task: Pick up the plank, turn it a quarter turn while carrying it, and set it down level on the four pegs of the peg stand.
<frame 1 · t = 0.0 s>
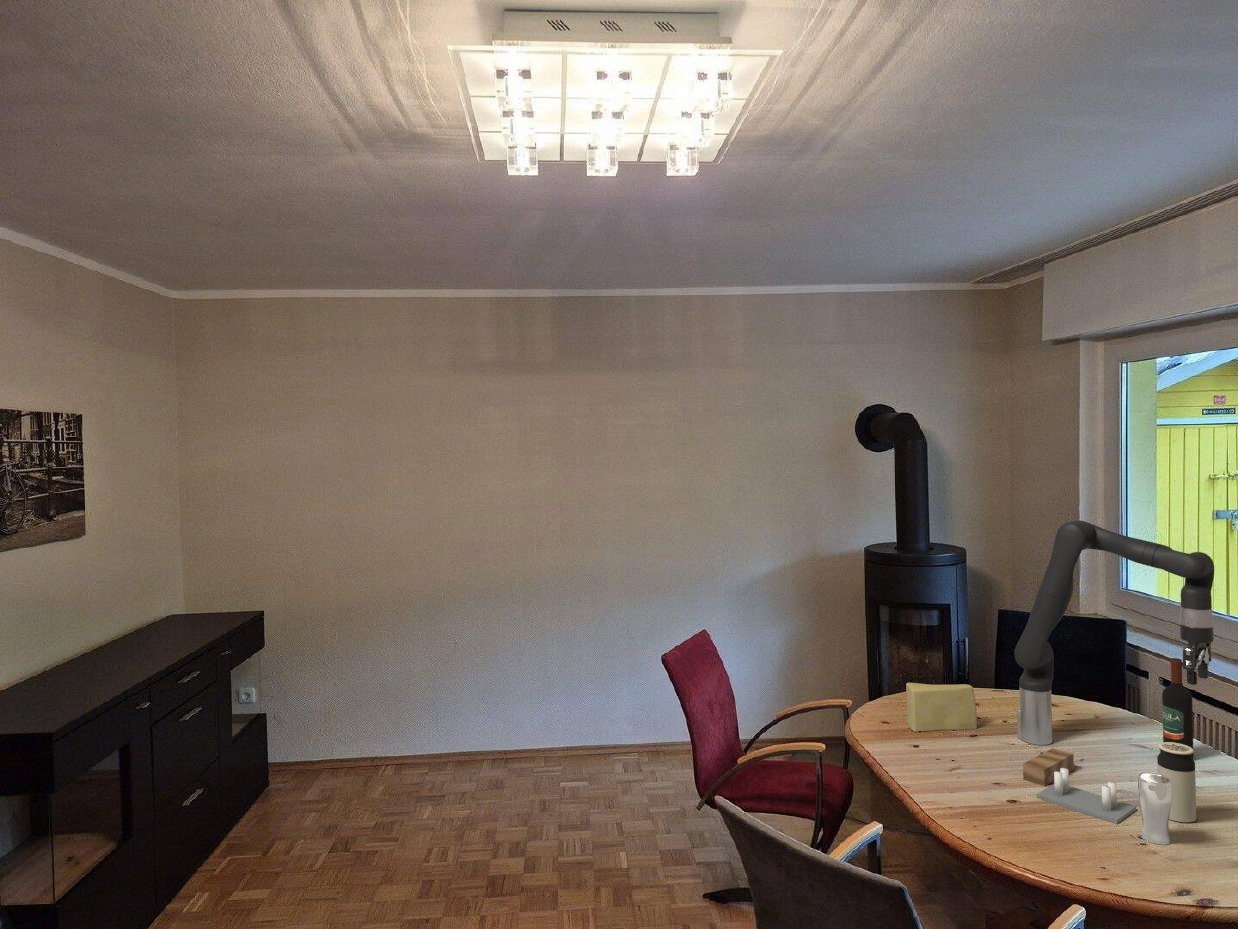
hand: (1197, 681, 220), 29 cm above the table, fingers open, 8 cm apart
wine bottle: (1178, 757, 240), on the table
beer glass: (1155, 839, 191), on the table
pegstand: (1085, 803, 211), on the table
cheese: (942, 729, 270), on the table
travel mug: (1177, 817, 202), on the table
plank: (1048, 775, 230), on the table
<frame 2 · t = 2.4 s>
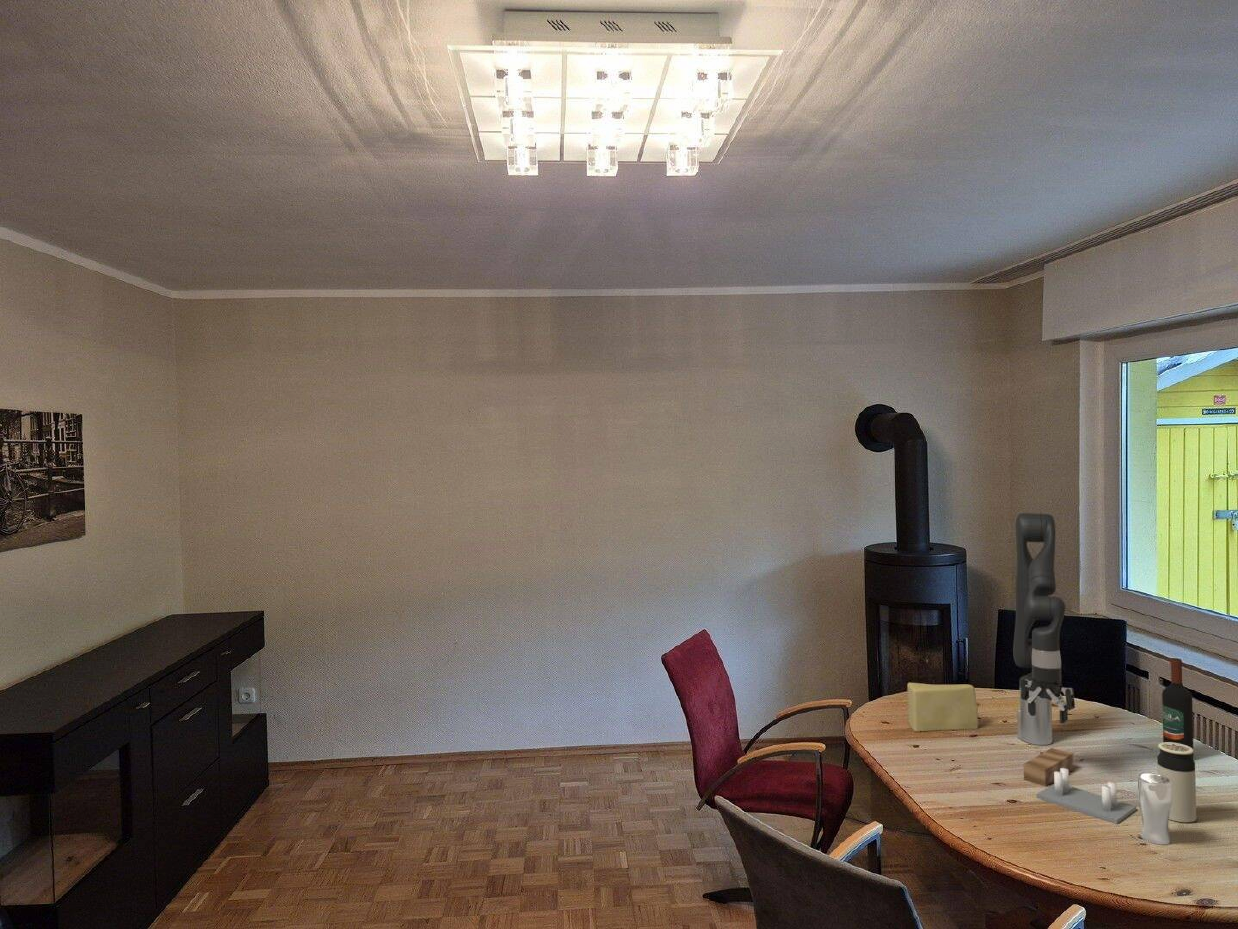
hand: (1047, 719, 230), 16 cm above the table, fingers open, 8 cm apart
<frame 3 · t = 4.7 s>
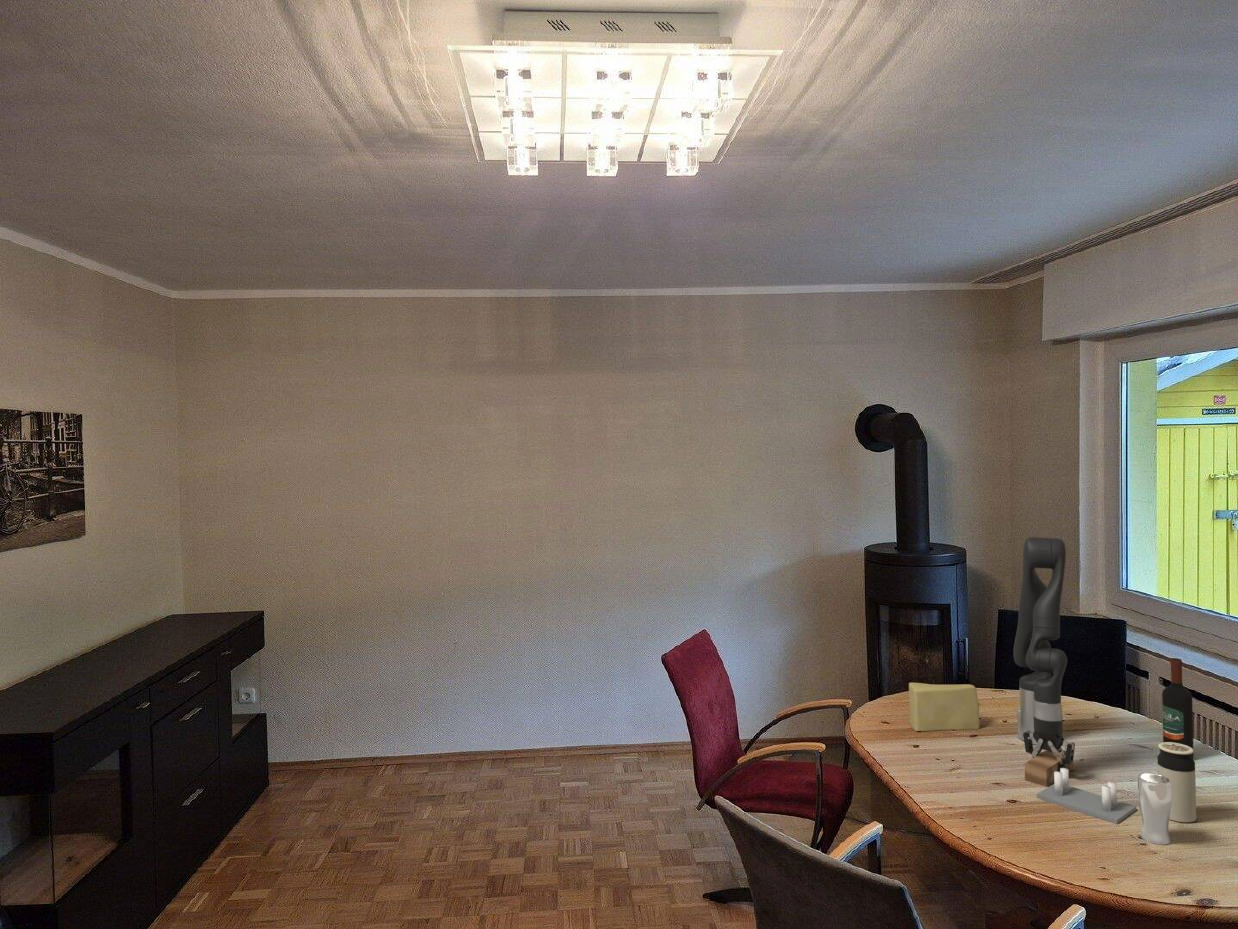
hand: (1049, 772, 230), 1 cm above the table, fingers closed on plank, 6 cm apart
plank: (1049, 774, 230), on the table, touching gripper
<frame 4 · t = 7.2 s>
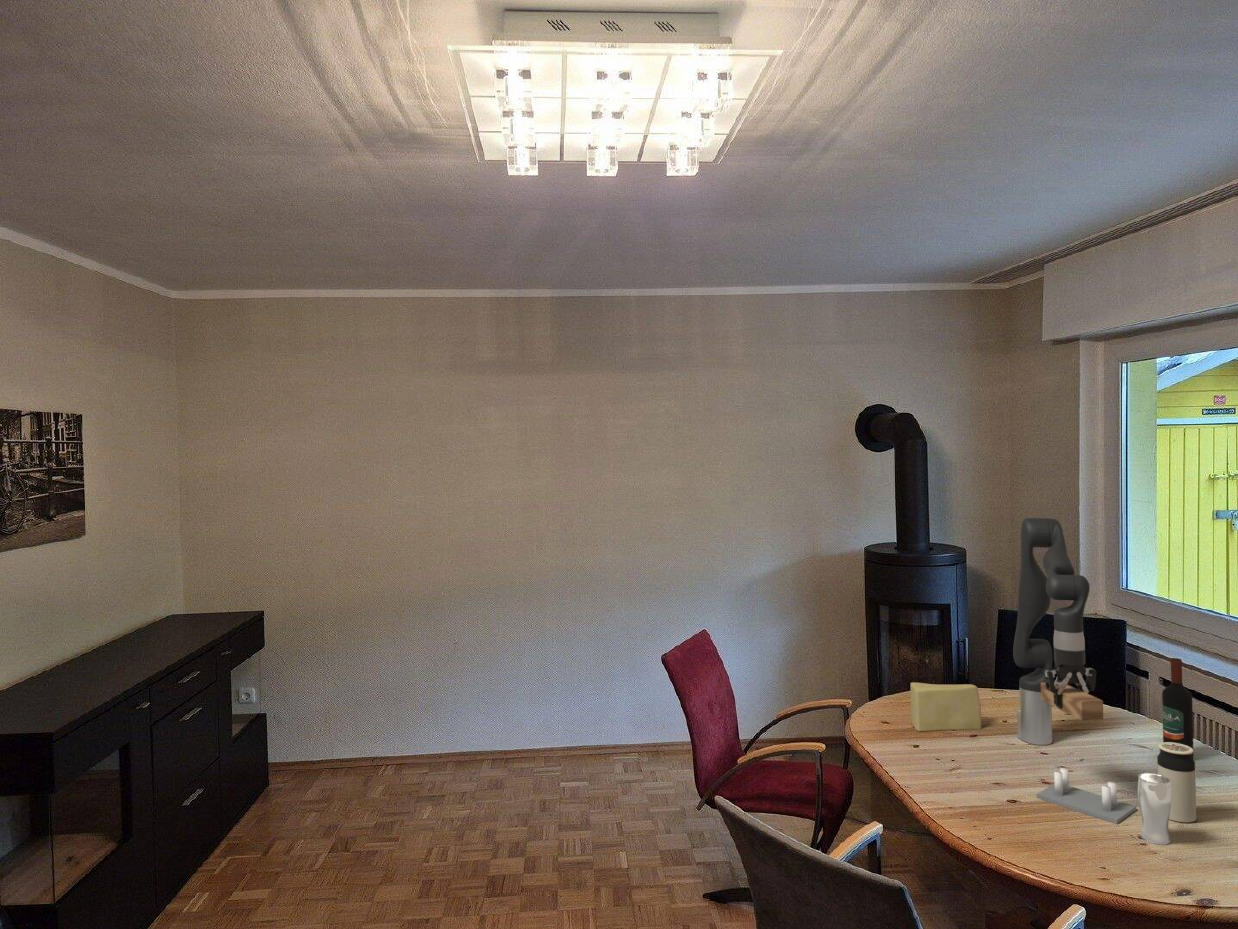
hand: (1070, 706, 217), 24 cm above the table, fingers closed on plank, 6 cm apart
plank: (1071, 709, 217), point 23 cm above the table, touching gripper
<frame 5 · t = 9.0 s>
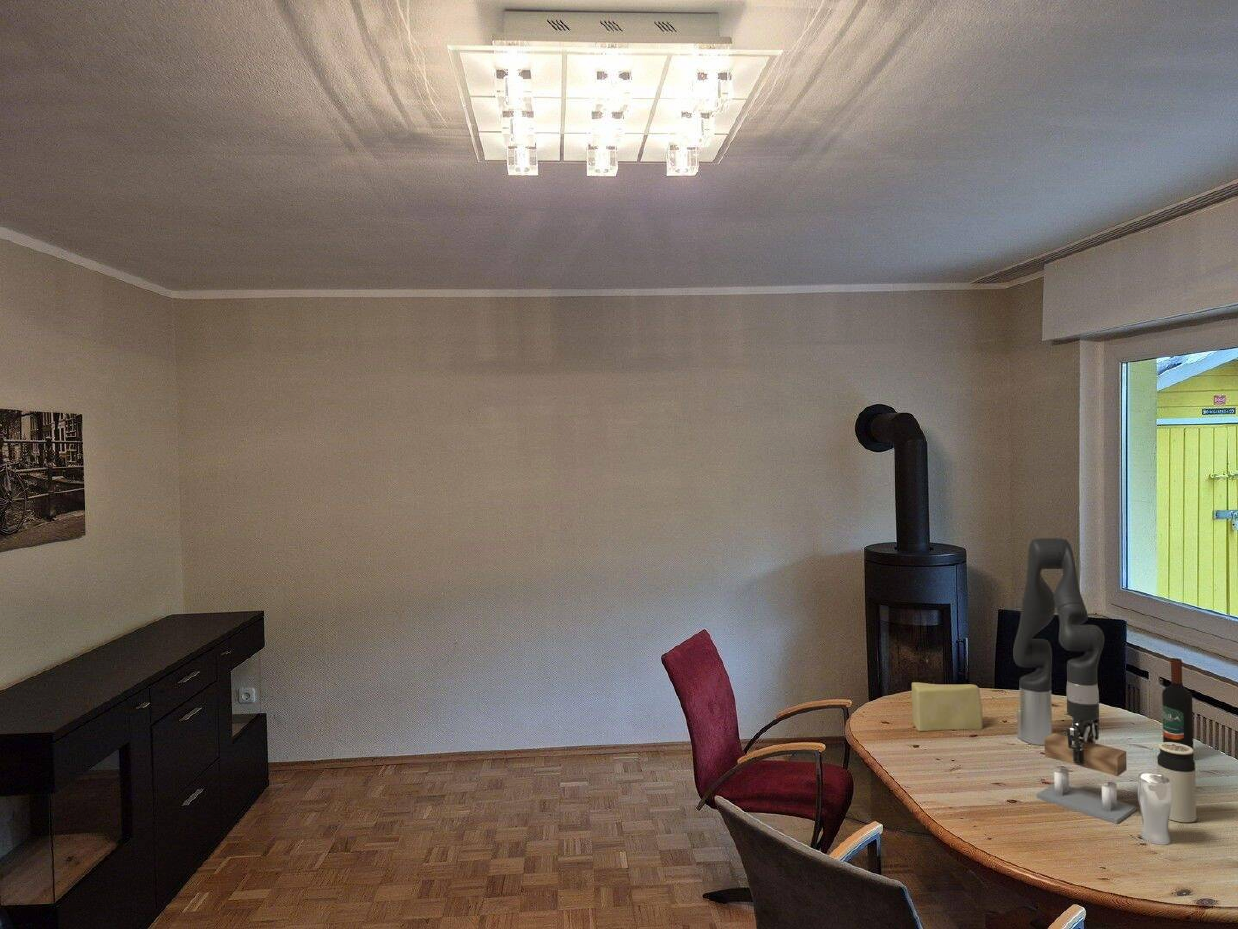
hand: (1084, 760, 211), 12 cm above the table, fingers closed on plank, 6 cm apart
plank: (1084, 763, 211), point 11 cm above the table, touching gripper
when the fingers open (9 cm above the table, at t = 10.1 s): plank stays where it is, resting on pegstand.
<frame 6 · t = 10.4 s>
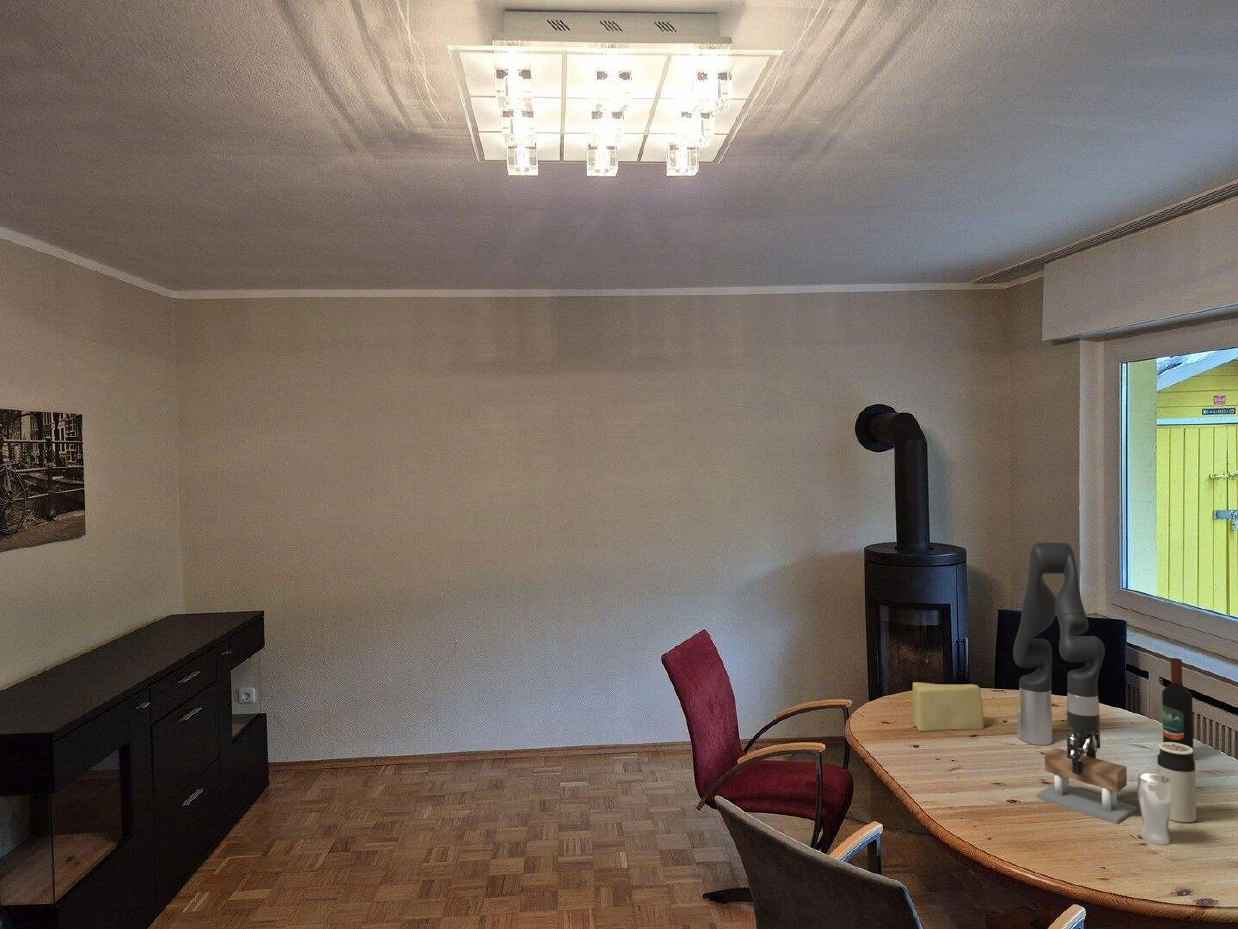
hand: (1084, 769, 211), 9 cm above the table, fingers open, 8 cm apart
plank: (1084, 778, 211), point 7 cm above the table, touching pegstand
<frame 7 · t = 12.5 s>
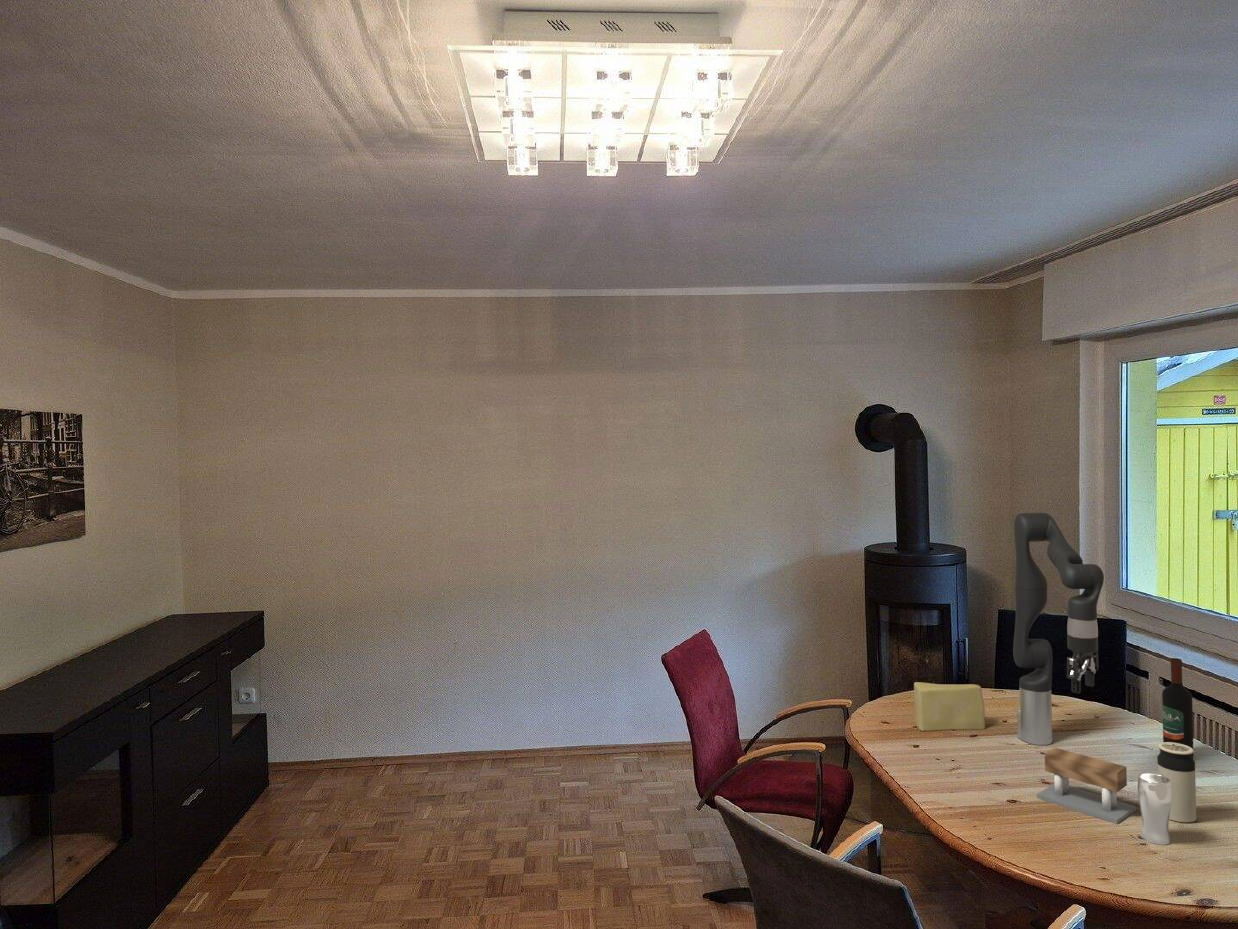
hand: (1082, 689, 224), 27 cm above the table, fingers open, 8 cm apart
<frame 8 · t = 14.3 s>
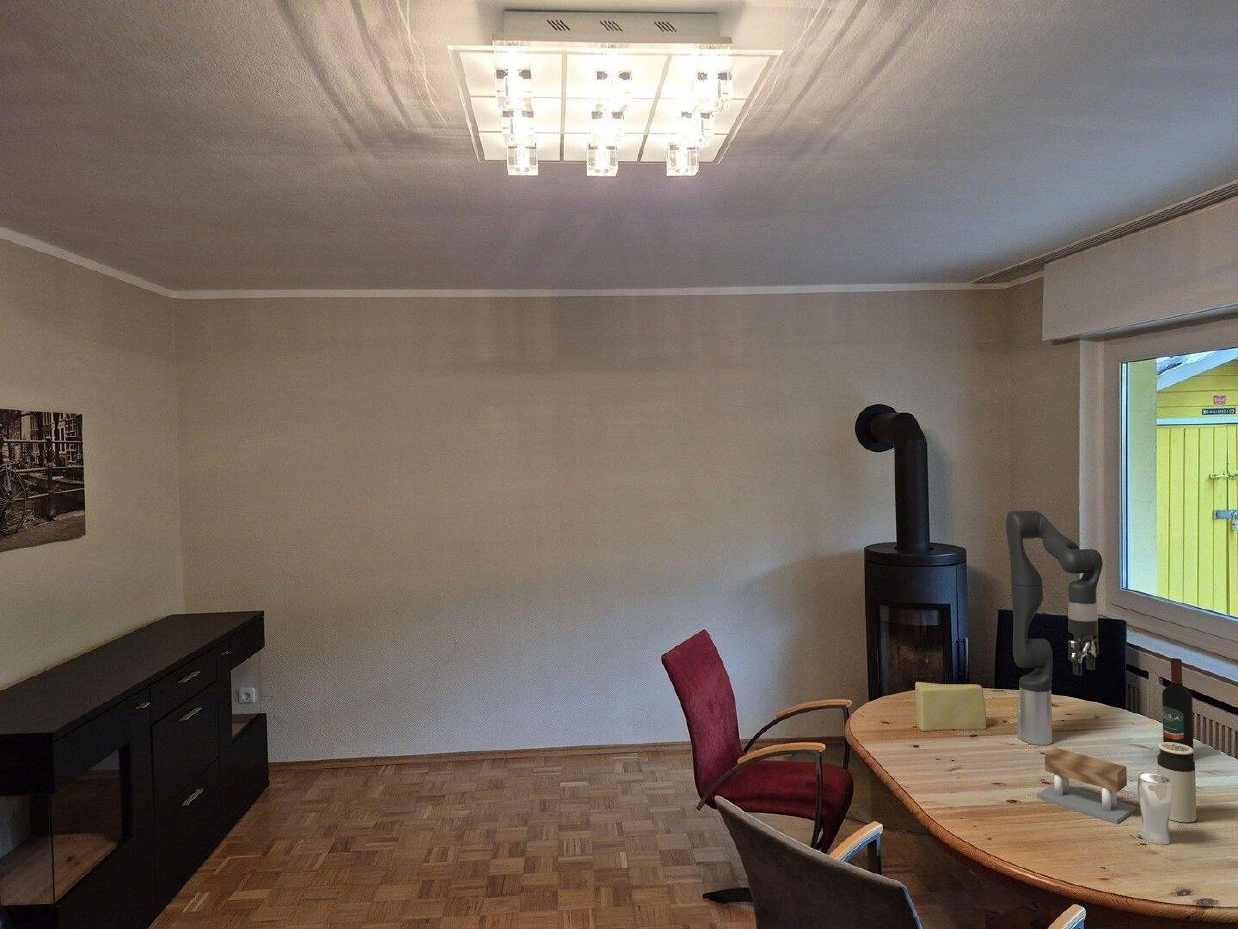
hand: (1084, 672, 229), 30 cm above the table, fingers open, 8 cm apart
at the end: plank 0.1 cm off-centre on the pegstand, point 7.0 cm above the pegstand's base; plank tilted 0°; the gripper is holding nothing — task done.
